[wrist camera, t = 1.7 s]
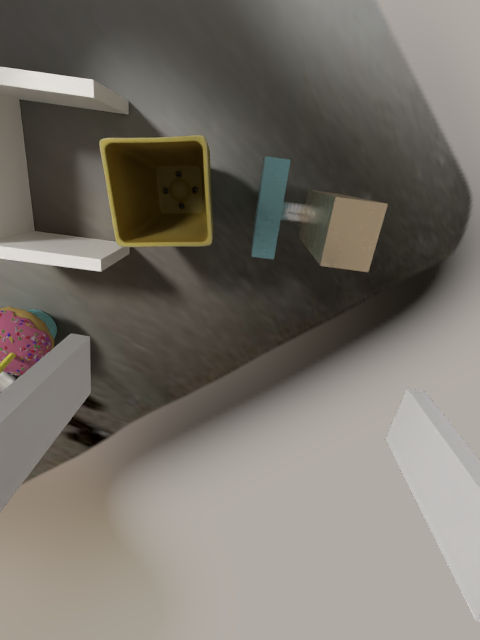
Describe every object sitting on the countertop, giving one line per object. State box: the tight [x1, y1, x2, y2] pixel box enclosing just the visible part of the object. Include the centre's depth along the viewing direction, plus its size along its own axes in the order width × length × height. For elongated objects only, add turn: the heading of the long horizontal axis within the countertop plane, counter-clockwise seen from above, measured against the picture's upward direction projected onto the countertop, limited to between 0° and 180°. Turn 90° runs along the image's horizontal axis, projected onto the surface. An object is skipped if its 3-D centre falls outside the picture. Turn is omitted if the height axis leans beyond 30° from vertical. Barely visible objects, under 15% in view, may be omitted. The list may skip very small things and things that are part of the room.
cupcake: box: [0, 307, 57, 375], centre depth 38 cm, size 9×8×12 cm
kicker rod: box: [251, 156, 388, 272], centre depth 28 cm, size 8×7×18 cm
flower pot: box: [99, 135, 214, 247], centre depth 32 cm, size 9×9×9 cm
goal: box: [0, 67, 130, 272], centre depth 33 cm, size 15×12×8 cm
